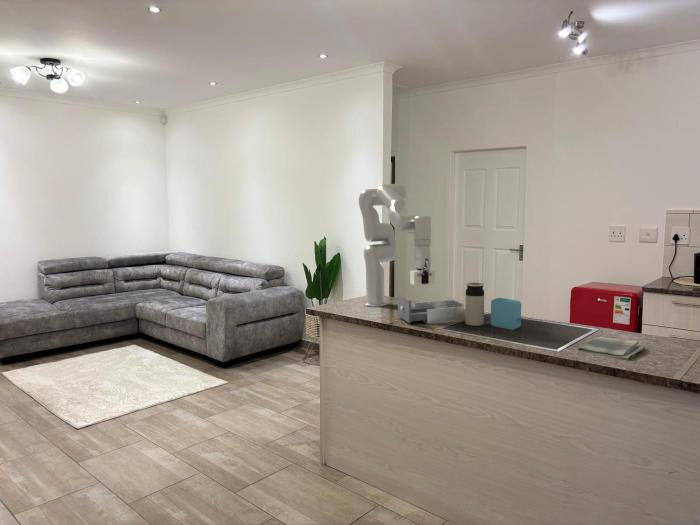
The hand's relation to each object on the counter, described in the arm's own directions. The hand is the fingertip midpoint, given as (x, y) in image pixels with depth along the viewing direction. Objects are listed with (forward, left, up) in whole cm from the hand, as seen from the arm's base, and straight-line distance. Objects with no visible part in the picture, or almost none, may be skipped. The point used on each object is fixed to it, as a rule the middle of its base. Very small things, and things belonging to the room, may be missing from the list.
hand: (422, 282), depth 243 cm
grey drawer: (0, -1, -17) cm, 17 cm away
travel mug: (+14, +19, -18) cm, 29 cm away
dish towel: (+64, +49, -18) cm, 82 cm away
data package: (+23, +29, -18) cm, 41 cm away
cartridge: (0, 0, -1) cm, 1 cm away
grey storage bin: (0, +8, -18) cm, 19 cm away
